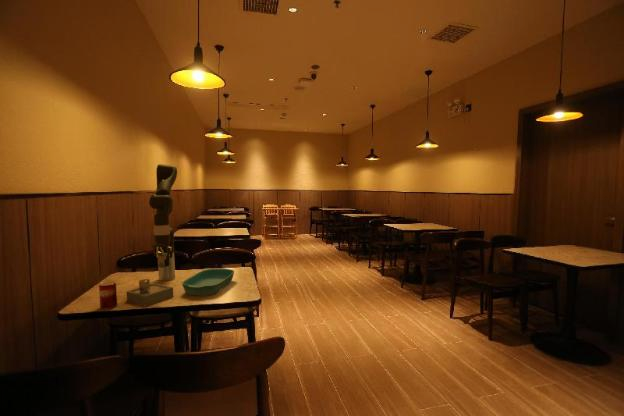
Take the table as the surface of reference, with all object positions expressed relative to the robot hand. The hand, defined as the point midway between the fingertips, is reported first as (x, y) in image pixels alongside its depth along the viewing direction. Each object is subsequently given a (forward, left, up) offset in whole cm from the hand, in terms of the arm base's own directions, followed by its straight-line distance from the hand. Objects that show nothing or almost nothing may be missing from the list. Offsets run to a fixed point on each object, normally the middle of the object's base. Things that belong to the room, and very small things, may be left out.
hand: (163, 264), depth 167 cm
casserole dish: (+7, +25, -19) cm, 32 cm away
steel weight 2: (0, 0, -1) cm, 1 cm away
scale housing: (-7, -4, -18) cm, 20 cm away
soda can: (-15, -21, -18) cm, 32 cm away
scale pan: (-7, -4, -15) cm, 17 cm away
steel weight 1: (-7, -7, -14) cm, 17 cm away
